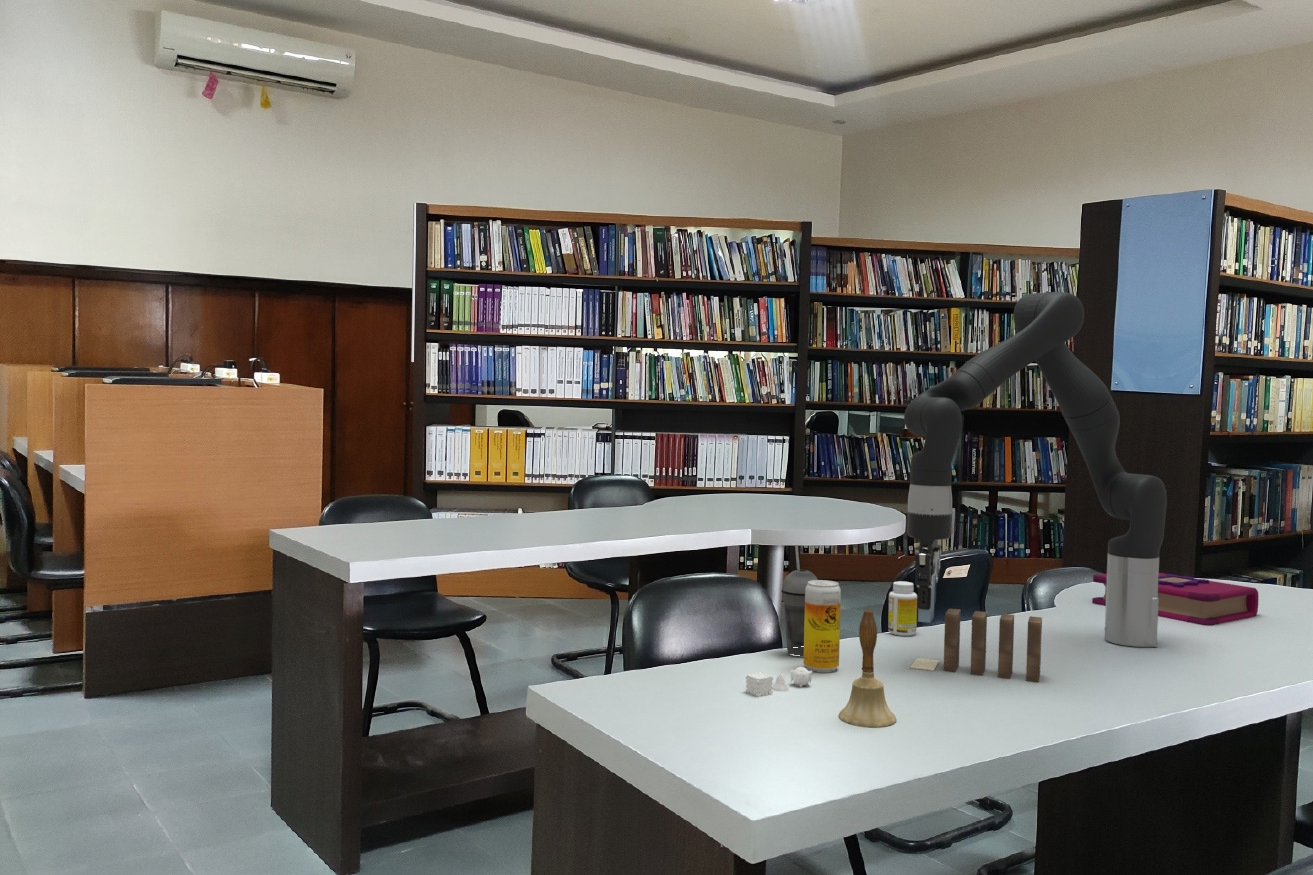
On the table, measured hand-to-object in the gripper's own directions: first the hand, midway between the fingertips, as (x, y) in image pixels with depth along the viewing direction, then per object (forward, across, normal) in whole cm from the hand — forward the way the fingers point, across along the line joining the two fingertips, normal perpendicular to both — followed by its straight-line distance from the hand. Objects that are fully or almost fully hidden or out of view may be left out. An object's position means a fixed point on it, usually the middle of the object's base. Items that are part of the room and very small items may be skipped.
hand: (926, 605), depth 179 cm
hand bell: (+11, -35, +3) cm, 37 cm away
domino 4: (+11, 0, -14) cm, 17 cm away
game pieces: (+11, -26, +19) cm, 34 cm away
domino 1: (+2, 0, 0) cm, 2 cm away
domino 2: (+11, 0, -4) cm, 11 cm away
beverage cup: (+11, -3, +22) cm, 25 cm away
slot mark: (+11, 0, 0) cm, 11 cm away
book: (+11, +78, -44) cm, 90 cm away
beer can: (+11, -11, +16) cm, 22 cm away
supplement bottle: (+11, +23, +8) cm, 27 cm away
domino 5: (+11, 0, -18) cm, 21 cm away
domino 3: (+11, 0, -9) cm, 14 cm away
